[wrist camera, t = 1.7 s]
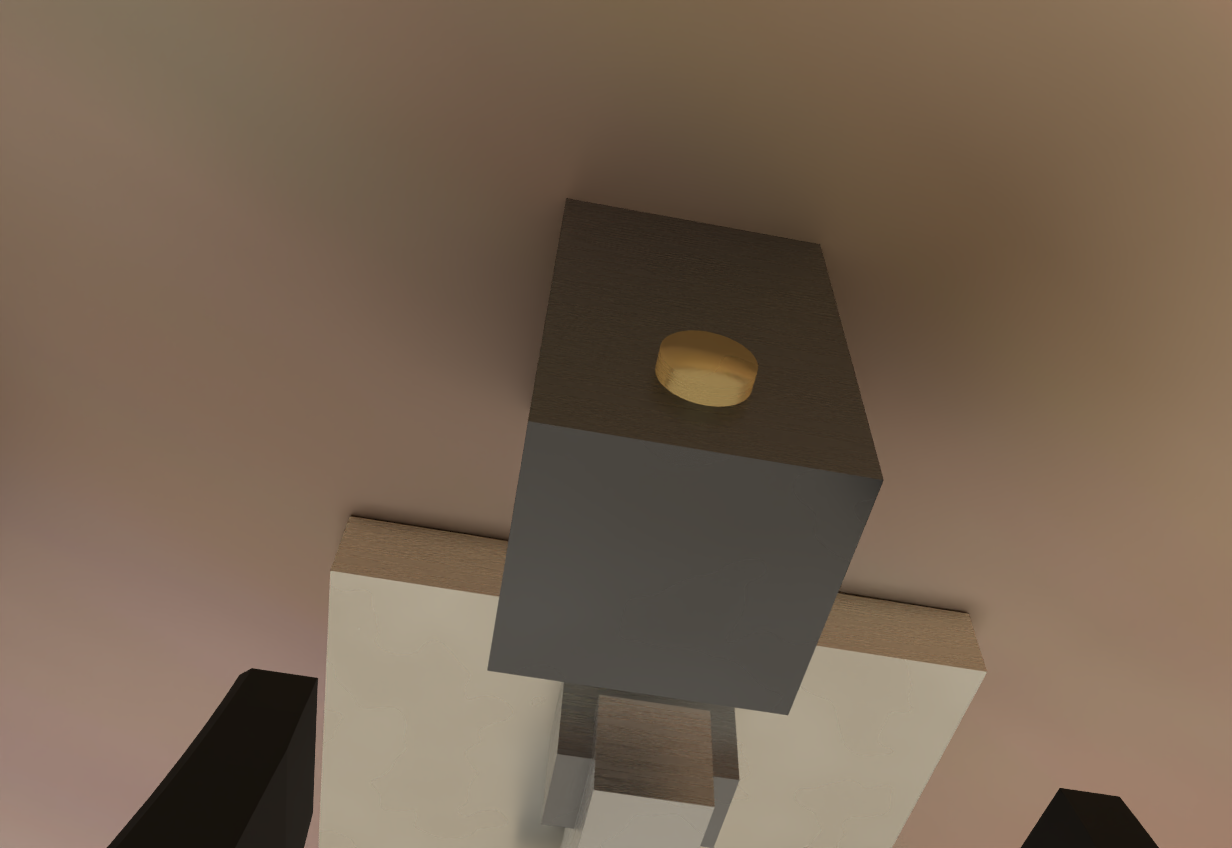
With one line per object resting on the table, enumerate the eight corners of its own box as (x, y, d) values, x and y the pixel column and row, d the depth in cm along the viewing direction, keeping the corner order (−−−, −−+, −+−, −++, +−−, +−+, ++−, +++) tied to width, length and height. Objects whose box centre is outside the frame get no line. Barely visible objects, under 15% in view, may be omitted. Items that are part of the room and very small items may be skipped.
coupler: (529, 424, 19) (484, 686, 15) (569, 179, 17) (532, 398, 12) (751, 461, 20) (782, 730, 15) (825, 226, 17) (891, 458, 12)
